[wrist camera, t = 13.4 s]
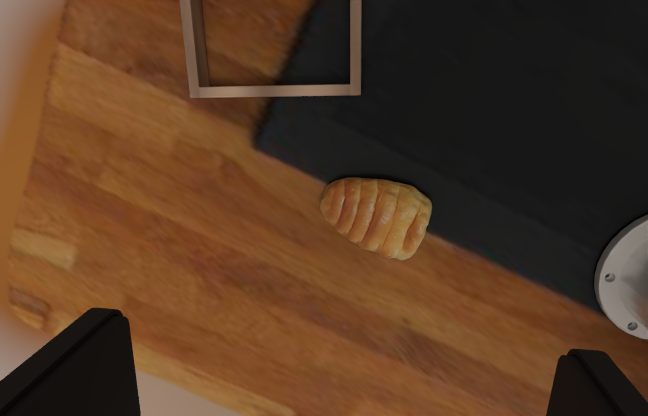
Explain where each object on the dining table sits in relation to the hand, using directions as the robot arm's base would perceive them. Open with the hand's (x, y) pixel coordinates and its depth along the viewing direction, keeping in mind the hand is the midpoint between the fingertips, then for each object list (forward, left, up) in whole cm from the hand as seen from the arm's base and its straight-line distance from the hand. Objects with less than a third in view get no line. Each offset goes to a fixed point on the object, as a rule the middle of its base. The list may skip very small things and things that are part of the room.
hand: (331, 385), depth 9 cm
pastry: (-2, +6, -30) cm, 30 cm away
